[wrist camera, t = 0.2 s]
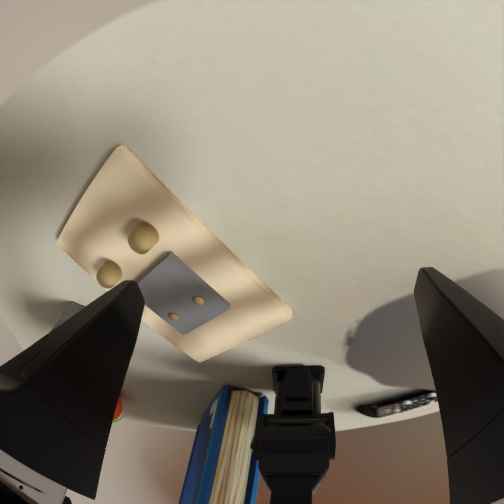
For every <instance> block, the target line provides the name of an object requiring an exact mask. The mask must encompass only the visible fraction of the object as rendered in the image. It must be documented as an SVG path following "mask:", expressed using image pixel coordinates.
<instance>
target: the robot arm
mask: <svg viewBox="0 0 504 504" xmlns="http://www.w3.org/2000/svg"><path fill="white" fill-rule="evenodd" d="M414 297H415V301H416V306H417V311H418V316H419V321H420V326H421V332H422V337H423V341H424V345H425V349H426V352H427V356H428V360H429V364H430V368H431V372H432V376H433V380H434V385H435V389H436V394H437V399H438V404H439V409H440V414H441V419H442V426H443V432H444V438H445V446H446V453H447V465H448V476H449V490H450V504H504V320H503V319H502V318H501V317H500V316H498V315H497V314H496V313H495V312H493V311H492V310H491V309H490V308H488V307H487V306H485V305H484V304H483V303H482V302H480V301H479V300H478V299H476V298H475V297H474V296H472V295H471V294H470V293H468V292H467V291H466V290H464V289H463V288H461V287H460V286H459V285H457V284H456V283H455V282H453V281H452V280H450V279H449V278H448V277H446V276H445V275H443V274H442V273H440V272H439V271H437V270H436V269H435V268H433V267H423V268H420V270H419V272H418V276H417V280H416V284H415V289H414ZM144 306H145V300H144V297H143V294H142V292H141V290H140V288H139V285H138V283H137V282H136V281H135V280H124V281H122V282H121V283H119V284H118V285H116V286H115V287H113V288H112V289H110V290H109V291H108V292H106V293H105V294H103V295H102V296H100V297H99V298H97V299H96V300H94V301H93V302H92V303H90V304H89V305H87V306H86V307H84V308H83V309H81V310H80V311H79V312H77V313H76V314H74V315H73V316H72V317H70V318H69V319H67V320H66V321H65V322H63V323H62V324H60V325H59V326H58V327H56V328H55V329H53V330H52V331H51V332H49V334H47V335H45V336H44V337H42V338H41V339H40V340H38V341H37V342H36V343H34V344H33V345H31V346H30V347H29V348H27V349H26V350H24V351H23V352H21V353H20V354H18V355H17V356H15V357H14V358H12V359H11V360H9V361H8V362H6V363H5V364H3V365H2V366H0V504H72V503H71V500H70V498H69V497H67V496H65V494H66V492H67V489H70V490H72V491H74V492H76V493H79V494H81V495H83V496H86V497H88V498H91V499H93V500H95V497H96V492H97V487H98V482H99V477H100V472H101V467H102V463H103V458H104V454H105V450H106V449H105V448H106V445H107V441H108V437H109V433H110V429H111V425H112V421H113V418H114V414H115V410H116V407H117V403H118V400H119V396H120V393H121V389H122V386H123V382H124V379H125V376H126V373H127V369H128V366H129V363H130V360H131V357H132V354H133V351H134V347H135V344H136V340H137V336H138V332H139V327H140V323H141V319H142V315H143V311H144ZM324 373H325V368H324V367H275V368H273V369H272V374H273V382H274V390H275V394H276V397H275V409H274V414H265V413H261V415H260V418H259V419H257V422H256V429H255V433H254V436H253V439H252V442H251V444H250V449H251V450H252V451H253V452H254V456H255V460H256V461H259V462H258V469H259V471H260V473H261V475H262V477H263V480H264V481H265V483H266V485H267V487H268V488H269V490H270V492H271V499H270V504H312V495H313V494H314V493H315V492H316V490H317V489H318V487H319V486H320V485H321V483H322V482H323V480H324V479H325V477H326V474H327V471H328V469H329V461H331V460H334V458H335V447H336V444H335V443H336V442H335V441H336V440H335V426H334V414H333V412H329V413H321V393H322V388H323V381H324Z"/></svg>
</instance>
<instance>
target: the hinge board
mask: <svg viewBox="0 0 504 504" xmlns="http://www.w3.org/2000/svg"><path fill="white" fill-rule="evenodd" d="M56 243H57V244H58V245H59V246H60V247H61V248H62V249H63V250H64V251H65V252H66V253H67V254H68V255H69V256H70V257H71V258H72V259H73V260H74V261H75V262H76V263H77V264H78V265H79V266H80V267H82V268H83V269H84V270H85V271H86V272H87V273H88V274H89V275H90V276H91V277H92V278H93V279H94V280H95V281H97V282H98V283H99V284H100V285H101V286H102V287H103V288H104V289H105V290H107V291H109V290H110V289H112V288H113V287H115V286H116V285H118V284H119V283H121V282H122V281H124V280H135V281H136V282H137V283H138V285H139V288H140V290H141V292H142V294H143V297H144V300H145V306H144V311H143V315H142V319H141V320H142V321H143V322H145V323H146V324H147V325H148V326H150V327H151V328H152V329H153V330H155V331H156V332H157V333H159V334H160V335H161V336H163V337H164V338H165V339H167V340H168V341H169V342H171V343H172V344H173V345H175V346H176V347H177V348H179V349H180V350H181V351H183V352H184V353H186V354H187V355H188V356H190V357H191V358H193V359H194V360H195V361H197V362H198V363H200V362H202V361H204V360H207V359H209V358H211V357H214V356H216V355H218V354H220V353H222V352H225V351H227V350H229V349H231V348H233V347H236V346H238V345H240V344H242V343H244V342H246V341H248V340H250V339H252V338H255V337H257V336H259V335H261V334H263V333H265V332H267V331H269V330H271V329H273V328H275V327H277V326H279V325H281V324H283V323H285V322H287V321H289V320H291V319H292V310H291V309H290V308H289V307H288V306H287V305H286V304H285V303H284V302H283V301H282V300H281V299H280V298H279V297H278V296H277V295H276V294H275V293H274V292H273V291H272V290H271V289H270V288H268V287H267V286H266V285H265V284H264V283H263V282H262V281H261V280H260V279H259V278H258V277H257V276H256V275H255V274H254V273H253V272H252V271H251V270H250V269H249V268H248V267H247V266H246V265H245V264H244V263H243V262H242V261H241V260H240V259H239V258H237V257H236V256H235V255H234V254H233V253H232V252H231V251H230V250H229V249H228V248H227V247H226V246H225V245H224V244H223V243H222V242H221V241H220V240H219V239H218V238H217V237H216V236H215V235H214V234H213V233H212V232H211V231H210V230H209V229H208V228H207V227H206V226H205V225H204V224H203V223H202V222H201V221H200V220H199V219H198V218H197V217H196V216H195V215H194V214H193V213H192V212H191V211H190V210H189V209H188V208H187V207H186V206H185V205H184V204H183V203H182V202H180V201H179V200H178V199H177V198H176V197H175V196H174V195H173V194H172V193H171V192H170V191H169V190H168V189H167V188H166V187H165V186H164V185H163V184H162V183H161V182H160V181H159V180H158V179H157V178H156V177H155V176H154V175H153V174H152V173H151V172H150V171H149V170H148V169H147V168H146V167H145V166H144V165H143V164H142V163H141V162H140V161H139V160H138V159H137V157H136V156H135V155H134V154H133V153H132V152H131V151H130V150H129V149H128V148H127V147H126V146H125V145H124V144H122V145H120V146H118V147H116V148H115V150H114V151H113V152H112V154H111V155H110V157H109V158H108V159H107V161H106V162H105V163H104V165H103V166H102V168H101V169H100V171H99V172H98V174H97V175H96V177H95V178H94V179H93V181H92V183H91V184H90V186H89V187H88V189H87V190H86V192H85V193H84V195H83V196H82V198H81V200H80V201H79V203H78V205H77V206H76V208H75V210H74V211H73V213H72V215H71V216H70V218H69V220H68V222H67V223H66V225H65V227H64V229H63V230H62V232H61V234H60V236H59V238H58V240H57V242H56Z"/></svg>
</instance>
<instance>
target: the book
mask: <svg viewBox="0 0 504 504" xmlns="http://www.w3.org/2000/svg"><path fill="white" fill-rule="evenodd" d="M268 402H269V400H268V399H267V397H266V396H263V397H260V398H258V397H257V396H255V395H254V394H252V393H250V392H249V391H232V389H231V388H230V386H226V387H223V388H222V389H221V390H220V392H219V393H218V394H217V396H216V397H215V398H214V400H213V401H212V402H211V404H210V405H209V407H208V409H207V410H206V412H205V413H204V415H203V416H202V420H201V424H200V425H198V428H197V432H196V436H195V440H194V444H193V448H192V452H191V456H190V460H189V464H188V468H187V473H186V476H185V481H184V484H183V488H182V492H181V497H180V501H179V504H255V503H256V496H257V490H258V482H259V475H260V471H259V469H258V462H259V461H256V460H255V456H254V452H253V451H252V450H251V449H250V444H251V442H252V439H253V436H254V433H255V429H256V422H257V419H259V418H260V415H261V413H265V414H267V411H268Z"/></svg>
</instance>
